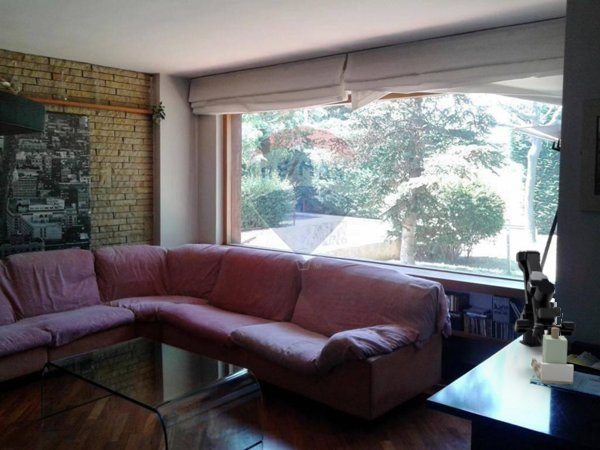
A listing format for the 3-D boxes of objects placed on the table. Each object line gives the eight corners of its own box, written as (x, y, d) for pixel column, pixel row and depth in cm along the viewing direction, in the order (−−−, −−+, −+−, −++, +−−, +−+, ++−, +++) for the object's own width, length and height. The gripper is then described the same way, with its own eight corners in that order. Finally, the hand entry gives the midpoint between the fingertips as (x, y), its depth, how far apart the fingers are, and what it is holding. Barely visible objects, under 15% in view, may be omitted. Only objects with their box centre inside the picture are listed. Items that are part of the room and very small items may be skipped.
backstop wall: (540, 378, 168) (541, 362, 168) (571, 380, 166) (572, 364, 166) (541, 379, 167) (542, 364, 167) (573, 382, 165) (573, 366, 165)
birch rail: (531, 364, 184) (531, 357, 183) (559, 366, 182) (559, 359, 181) (541, 382, 167) (541, 375, 167) (572, 385, 165) (573, 377, 165)
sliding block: (541, 371, 174) (543, 325, 172) (561, 372, 172) (563, 326, 171) (545, 376, 169) (546, 329, 168) (565, 378, 168) (567, 331, 166)
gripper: (517, 296, 185) (521, 337, 176) (576, 298, 181) (583, 340, 171) (512, 312, 194) (516, 352, 184) (569, 315, 189) (576, 356, 180)
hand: (547, 350), depth 180 cm, fingers closed
